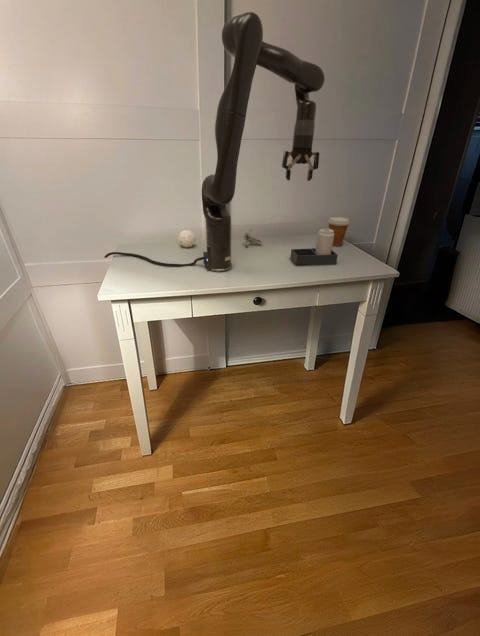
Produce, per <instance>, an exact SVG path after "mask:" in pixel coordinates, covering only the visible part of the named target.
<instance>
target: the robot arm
mask: <svg viewBox="0 0 480 636" xmlns="http://www.w3.org/2000/svg"><path fill="white" fill-rule="evenodd" d="M263 37H264V28H263V23H262V20H261V18H260V16H259V15H258V14H257V13H256V12H254V11H248V12H244V13H241V14H238V15H235V16H233V17H231V18H229V19H228V20H227V21H226V22H225V23H224V24H223V27H222V30H221V41H222V45H223V48H224V50H225V51H226V53H227V54H228V55H229V56H230V57H232V58H234V60H233V66H232V70H231V73H230V76H229V79H228V81H227V83H226V85H225V87H224V89H223V91H222V92H221V96H220V98H219V101H218V104H217V108H216V113H215V122H214V138H215V146H216V155H217V159H216V166H215V172H214V174H209V175H207V176H206V177H205V178H204V179H203V181H202V184H201V202H202V204H201V205H202V213H203V216H204V220H205V235H206V239H205V240H206V242H205V243H206V251H203V253H202V255H203V256H201V257H198V258H196V259H194V260H193V262H189V263H169V262H167V263H166V262H160V261H157V260H154V259H151V258H149V257H147V256H144V255H141V254H137V253H131V252H121V251H112V252H108V253H106V254H105V255H104V256H103V258H104V259H107V258H109V257H110V256H112V255H121V256H127V257H128V256H129V257H135V258H140V259H143V260H144V261H147V262H150V263H152V264H155V265H159V266H165V267H190V266H191V267H192V266H194V265H196V264H197V262H199V261H203V265H206V266H207V267H206V268H207V271H212V272H218V273H219V272H227V271H229V270H231V269H232V215H231V214H230V212H229V211H228V209H227V208H228V207H227V205H229V204H230V203H231V201H233V198H234V196H235V192H236V184H237V183H236V182H237V174H238V173H237V171H238V161H239V156H240V152H241V151H240V150H241V145H242V139H243V133H244V129H245V124H246V118H247V112H248V105H249V101H250V96H251V90H252V85H253V81H254V76H255V73H256V69H257V66H258V67H260V68H263V69H265V70H267V71H269V72H270V73H272V74H274V75H275V76H277V77H279V78H281V79H282V80H283V81H286V82H287V83H289V84H294V94H295V102H296V112H295V113H296V115H295V122H294V127H293V136H292V137H293V138H292V148H291V149H292V150H291V151H288V150H284V151H283V155H282V163H281V168H283V169H285V179H286V181H291V175H292V173H291V172H292V168H293V167H294V166H295V165H300V164H302V165H306V166H307V169H308V170H307V177H306V181H307V182H311V180H312V179H313V173H314V171H315V170H317V169H319V164H320V163H319V162H320V152H319V151H313V150H312V149H313V143H314V134H315V126H316V125H315V123H316V114H317V103H316V102H315V101H314V100H311V99H310V93H316V92H319V91H320V90H321V89H322V88H323V87H324V85H325V79H326V78H325V77H326V75H325V73H324V70H323V69H322V68H321V67H320V66H319V65H317V64H316V63H313V62H309V61H307V60H303V59H301V58H300V57H298V56H297V55H296V54H294V53H293V52H291V51H289V50H287V49H285V48H283V47H281V46H277V45H274V44H270V43H269V42H265V41H264V40H263V39H264V38H263ZM290 157H291V158H292V159H291V160H290V161H289V163H288V160H289V158H290ZM311 157H312V158H313V164H312V161H311Z"/></svg>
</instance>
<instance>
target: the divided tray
mask: <svg viewBox="0 0 480 636" xmlns="http://www.w3.org/2000/svg"><path fill="white" fill-rule="evenodd" d="M315 250H316V247H315V248H314V247H313V248H291V249H290V258H289V259H290V260H291V262H292V263H293V264H294V266H295V267H304V266H306V267H307V266H326V265H327V266H332V265H333V266H335V265H337V262H338V254H337V253H336V252H335V251H334V250H333V249H332V251H331V255H317V254H316V253H315Z"/></svg>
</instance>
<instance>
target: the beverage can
mask: <svg viewBox="0 0 480 636" xmlns="http://www.w3.org/2000/svg"><path fill="white" fill-rule="evenodd" d="M318 230H319V231H318V232H317V237H316V244H315V248H316V250H315V253H316V254H317V255H331V251H332V250H333V246H332V245H333V239H334V230H331V229H329V228H320V229H318Z"/></svg>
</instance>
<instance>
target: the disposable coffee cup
mask: <svg viewBox="0 0 480 636" xmlns="http://www.w3.org/2000/svg"><path fill="white" fill-rule="evenodd" d="M327 222H328V229H331V230H334V239H333V245H332V247H341V246H343V242H344V239H345V236H346V233H347V230H348V227H349V225H350V223H351V222H350V219H349V218H348V217H346V216H345V217H344V216H330V217H329V219H328V221H327Z"/></svg>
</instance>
